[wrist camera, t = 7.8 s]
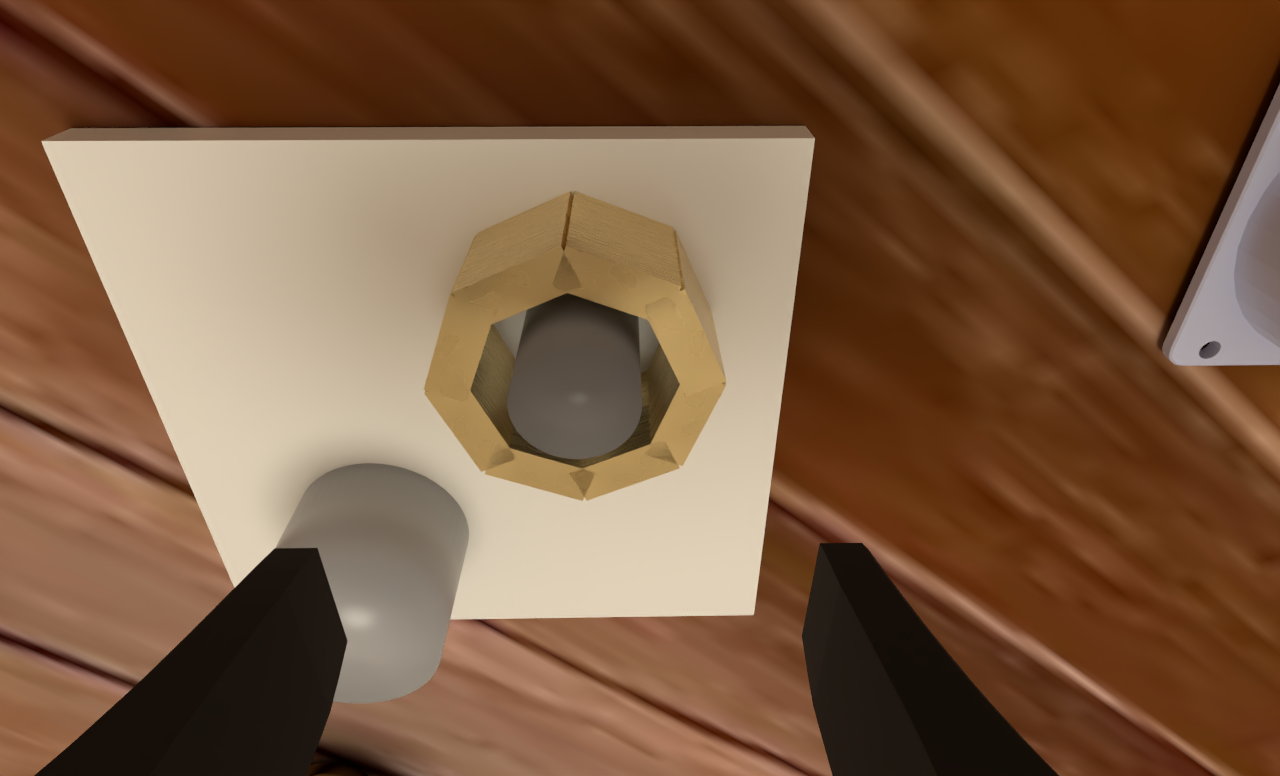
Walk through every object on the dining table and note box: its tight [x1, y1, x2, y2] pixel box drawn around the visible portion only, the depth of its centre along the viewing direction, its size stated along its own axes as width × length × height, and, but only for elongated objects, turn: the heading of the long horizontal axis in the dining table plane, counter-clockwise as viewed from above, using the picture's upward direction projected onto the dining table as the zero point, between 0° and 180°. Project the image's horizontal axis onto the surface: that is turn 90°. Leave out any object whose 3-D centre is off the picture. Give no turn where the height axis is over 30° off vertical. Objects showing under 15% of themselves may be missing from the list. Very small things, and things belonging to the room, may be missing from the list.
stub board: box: [41, 126, 815, 703], centre depth 19 cm, size 16×15×5 cm
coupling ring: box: [424, 191, 726, 501], centre depth 17 cm, size 6×6×3 cm
